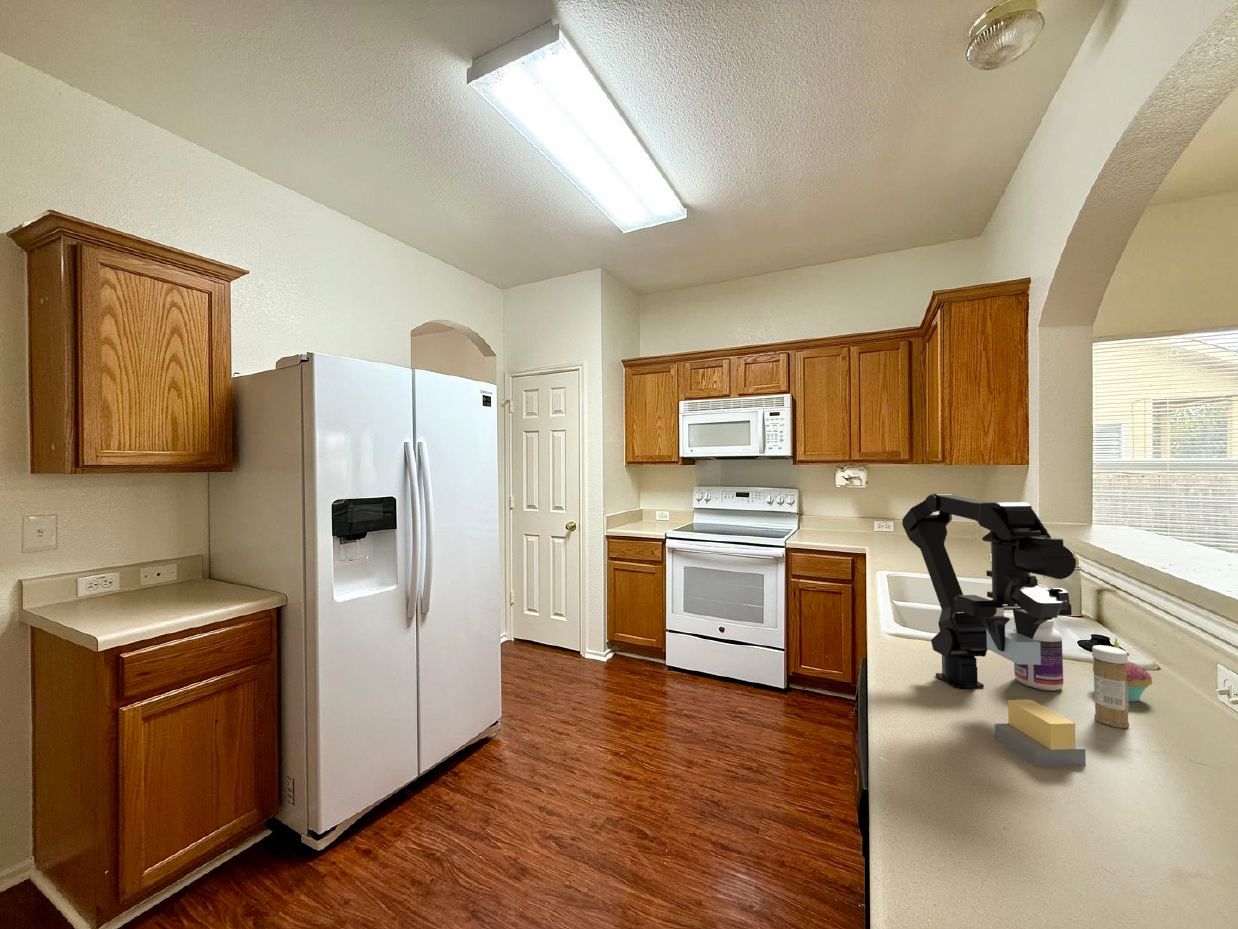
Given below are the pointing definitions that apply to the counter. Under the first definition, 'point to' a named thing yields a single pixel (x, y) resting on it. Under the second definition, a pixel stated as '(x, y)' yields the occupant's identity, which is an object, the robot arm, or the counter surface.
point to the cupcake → (1135, 679)
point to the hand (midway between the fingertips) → (1012, 650)
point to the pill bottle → (1044, 661)
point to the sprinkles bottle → (1110, 686)
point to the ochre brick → (1042, 724)
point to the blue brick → (1017, 648)
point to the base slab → (1037, 748)
